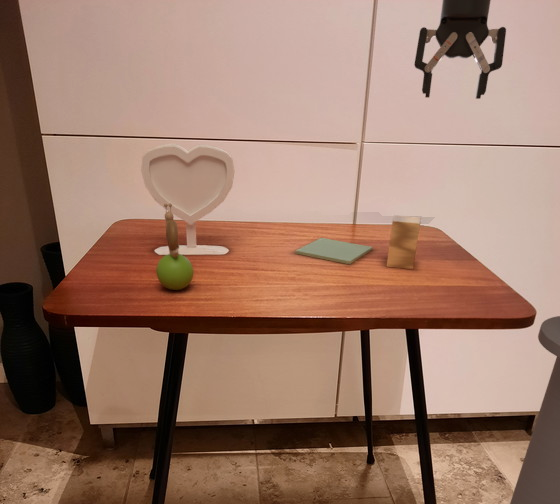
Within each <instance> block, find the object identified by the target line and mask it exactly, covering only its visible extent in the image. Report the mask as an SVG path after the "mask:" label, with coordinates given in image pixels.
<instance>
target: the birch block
mask: <svg viewBox="0 0 560 504" xmlns="http://www.w3.org/2000/svg"><path fill="white" fill-rule="evenodd" d="M421 220H422V218H421V217H419V216H409V215H408V216H407V215H398V214H397V215H396V214H394V215H393V218H392V223H391V229H390V238H389V245H388V251H387V252H388V253H387V260H386V267H387V268H395V269H405V270H414V265H415V260H416V253H417V248H418V241H419V234H420V228H421Z"/></svg>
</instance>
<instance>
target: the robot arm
mask: <svg viewBox="0 0 560 504" xmlns="http://www.w3.org/2000/svg"><path fill="white" fill-rule="evenodd" d="M490 7H491V0H442V3H441V12H440V19H439V24H438V27H437V29H434V28H433V29H432V28H427V27H425V26H424V27H421V28H420V29H419V33H418V39H417V40H418V41H417V47H416V53H415V58H414V65H413V66H414V69H416V70H419V71H421V72H423V78H422V79H423V80H422V88H421V91H422V95H423V94H424V95H425V98H428V99H429V98H430V96H431V88H432V79H433V73H432V71H433V70H434V69H435V67H436V66H437V65H438V64H439V63H440V61H441V60H442V59H443V58H444V56H445V57H446V58H448V59H455V58H460V59H469V58H471V57H472V58H473V59H474V62H475V63H476V64H477V66H478V68H479V70H480V73H479V74H478V81H477V86H476V91H475V99H477V100H479V99H481V98H482V96H484V95H485V94H486V92H487V86H488V81H489V75H490V74H491V73H492V72H494V71H497V70H499V69H501V68H502V66H503V61H504V51H505V44H506V36H507V35H506V34H507V28H506V27H505V26H501V27H499V28H489V26H488V19H489V13H490ZM488 37H489V38H490V41H491V43H492V45H494V53H493V61H492V62H491V63H489V62H488V60H487V58H486V56H485V54H484V53H483V50H482V48H481V46H482V45H483V43H484V42H485V41H486V40H487V38H488ZM433 38H435V39H436V42H437V43H438V45H439V49H438V50H437V51H436V52H435V53H434V54H433V56H432V57H431V58H430V59H429V61H428V63H427V62H425V61H424V55H425V51H426V50H425V49H426V45H429V44H430V43H431V42H432V39H433Z"/></svg>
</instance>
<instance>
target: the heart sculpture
mask: <svg viewBox="0 0 560 504" xmlns="http://www.w3.org/2000/svg"><path fill="white" fill-rule="evenodd" d="M233 161H234V160H233V157H232V155H231V154H230V153H228V151H226V150H225V149H222V148H220V147H217V146H214V145H211V144H202V143H201V144H197V145H194V146H192V147H191V148H190V149H189V150H187V149H186V148H185V147H184V146H182V145H179V144H177V143H166V144H161V145H157V146H154V147H152V148H149V149H147V151H146V152H145V153H144V154H143V155H142V157H141V166H140V167H141V168H140V171H141V175H142V179H143V183H144V186H145V189H146V190H147V191H148V193H149V194H150V196H151V197H152V198H153V200H154V201H155V202H156V203H157V204H158V205H159V206H160V207H162V208H163V209H165V211H167V212H170V207H169V203H171V204H172V207H171V213H172V214H173V216H175V217H177V218H179V219H180V220H183V221H184V222H185V230H186V234H185V235H186V244H184V245H183V244H179V249H178V252H179V254H181V255H183V256H185V255H186V256H187V255H188V256H189V255H190V256H191V255H193V256H194V255H197V256H199V255H201V256H202V255H203V256H205V255H226V254H227V253H229V251H230V249H228V248H227V247H225V246H222V245H221V246H220V245H207V244H197V227H196V226H197V224H196V222H197V221H199V220H200V219H202V218H204V217H205V216H207V215H208V214H210V213H212V212H214V211H215V210H216V208H218V207H219V206H220V205H221V204H222V203H224V201H225V200H226V198H227V197H228V195H229V193H230V192H231V190H232V188H233V184H234V176H235V166H234V162H233ZM165 203H166V204H167V205H168V206H167V207H164V204H165ZM153 251H154V253H156V254H157V255H159V256H165V255H168V254H170V252H169V248H168V245H165V246H163V245H162V246H159V247H157V248H155V249H154V250H153Z"/></svg>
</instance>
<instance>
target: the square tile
mask: <svg viewBox="0 0 560 504" xmlns="http://www.w3.org/2000/svg"><path fill="white" fill-rule="evenodd" d="M372 251H373V246H369V245H364V244H360V243H359V244H357V243H353V242H348V241H342V240H336V239H330V238H325V237H320V238H318V239H316V240H313V241H312V242H310V243H308V244H305V245H303V246H302V247H300V248H298V249H296V250H295V251H294V254H295V255H300V256H305V257H310V258H314V259H315V258H316V259H319V260H325V261H330V262H334V263H340V264H346V265H352V264H353V263H354V262H356V261H357V260H359V259H361V258H362V257H364V256H365V255H367V254H368V253H370V252H372Z"/></svg>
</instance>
